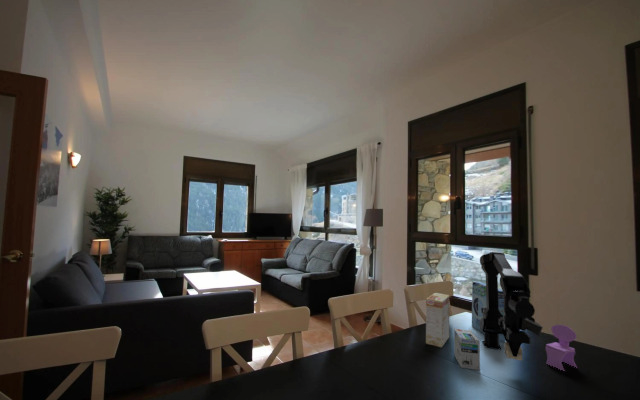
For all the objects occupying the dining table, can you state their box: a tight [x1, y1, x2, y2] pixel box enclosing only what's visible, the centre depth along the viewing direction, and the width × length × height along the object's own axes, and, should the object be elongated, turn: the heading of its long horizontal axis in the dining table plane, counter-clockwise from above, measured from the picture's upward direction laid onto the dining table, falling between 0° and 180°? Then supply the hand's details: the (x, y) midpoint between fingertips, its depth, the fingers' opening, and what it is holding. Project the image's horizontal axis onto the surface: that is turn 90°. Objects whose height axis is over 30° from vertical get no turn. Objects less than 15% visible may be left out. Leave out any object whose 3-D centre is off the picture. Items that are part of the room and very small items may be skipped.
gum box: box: [471, 281, 506, 343], centre depth 144 cm, size 20×5×23 cm, turn 4°
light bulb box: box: [453, 328, 481, 371], centre depth 113 cm, size 11×7×11 cm, turn 168°
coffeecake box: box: [425, 292, 450, 348], centre depth 134 cm, size 15×7×20 cm, turn 144°
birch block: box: [504, 341, 523, 361], centre depth 106 cm, size 4×4×4 cm
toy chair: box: [545, 324, 578, 372], centre depth 113 cm, size 8×9×15 cm
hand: (513, 353), depth 106 cm, fingers closed on birch block, 4 cm apart
